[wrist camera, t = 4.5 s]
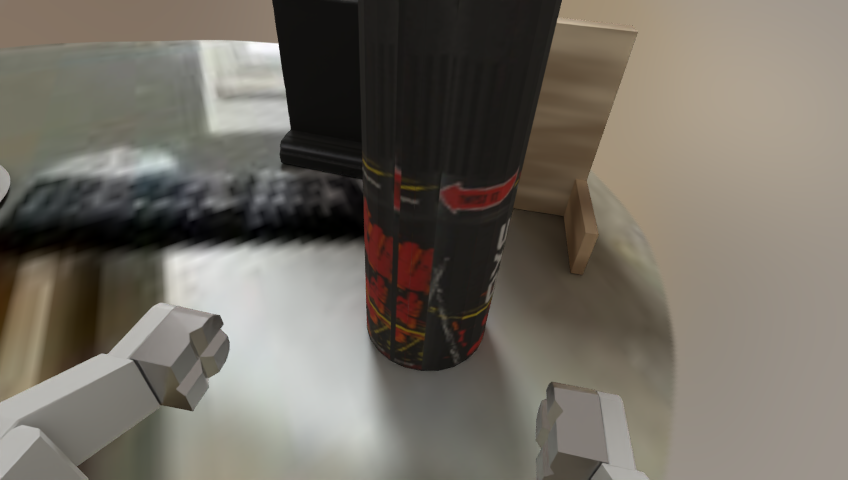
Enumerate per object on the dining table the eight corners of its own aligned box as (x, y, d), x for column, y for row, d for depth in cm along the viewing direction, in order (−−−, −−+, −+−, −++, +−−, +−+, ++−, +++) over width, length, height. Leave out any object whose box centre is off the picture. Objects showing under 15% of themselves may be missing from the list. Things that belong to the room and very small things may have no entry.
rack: (582, 274, 25) (667, 64, 18) (429, 249, 26) (449, 39, 19) (571, 205, 31) (632, 25, 24) (446, 186, 32) (467, 7, 25)
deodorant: (376, 275, 24) (375, -41, 15) (481, 285, 24) (546, -26, 15) (356, 364, 20) (334, -14, 10) (486, 377, 19) (585, 8, 10)
